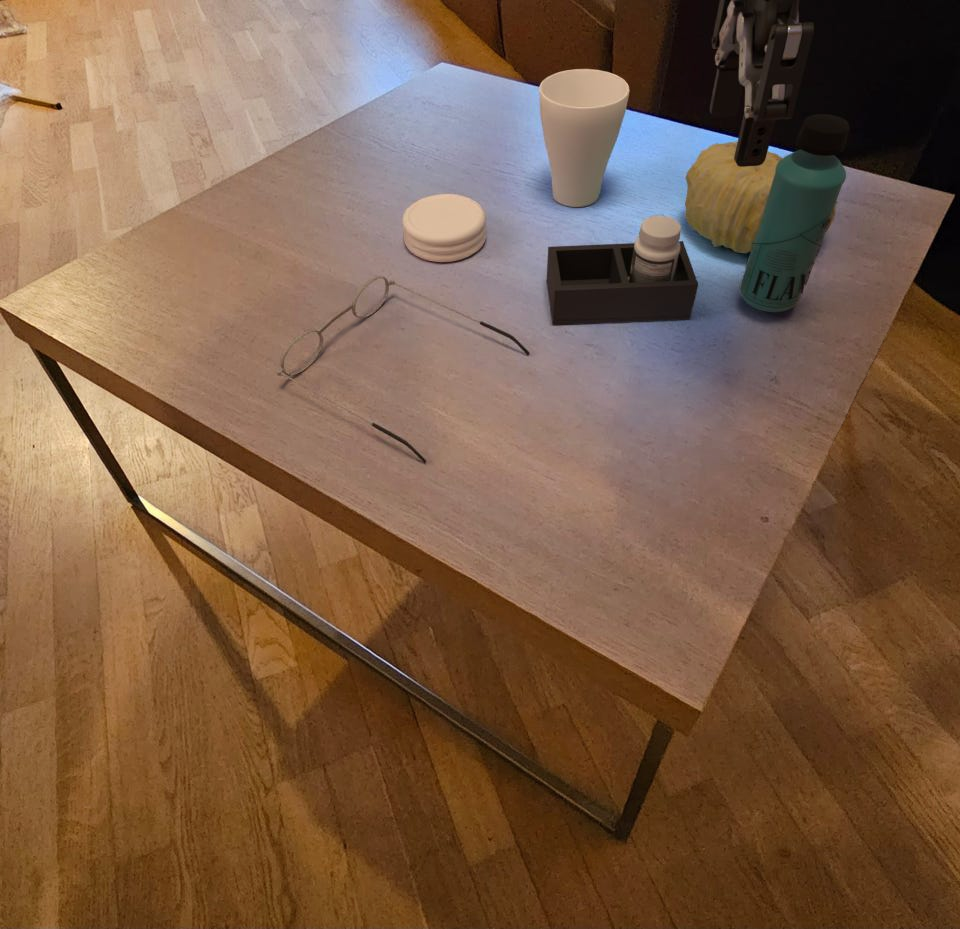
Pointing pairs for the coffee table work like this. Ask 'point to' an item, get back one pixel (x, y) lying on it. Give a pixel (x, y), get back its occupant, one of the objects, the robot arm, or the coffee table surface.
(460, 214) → the white jar lid
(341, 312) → the eyeglasses
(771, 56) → the robot arm
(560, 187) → the cup
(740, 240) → the yellow lumpy rounded block
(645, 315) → the holder
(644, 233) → the pill bottle
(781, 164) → the beverage bottle
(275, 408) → the coffee table surface
